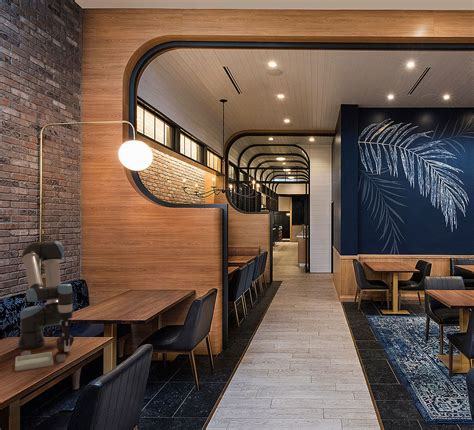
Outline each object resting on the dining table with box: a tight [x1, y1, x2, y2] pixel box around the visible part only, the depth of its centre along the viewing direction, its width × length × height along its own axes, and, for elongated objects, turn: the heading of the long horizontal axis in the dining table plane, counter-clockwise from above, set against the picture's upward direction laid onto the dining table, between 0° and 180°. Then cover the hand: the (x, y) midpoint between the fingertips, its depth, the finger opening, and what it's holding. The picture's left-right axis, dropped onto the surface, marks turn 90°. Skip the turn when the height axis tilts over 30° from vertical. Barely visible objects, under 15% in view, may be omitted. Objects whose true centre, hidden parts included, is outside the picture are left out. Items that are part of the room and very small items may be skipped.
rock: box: [56, 334, 75, 352], centre depth 239 cm, size 12×9×10 cm
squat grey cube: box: [55, 353, 67, 363], centre depth 224 cm, size 4×4×3 cm
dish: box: [14, 351, 54, 372], centre depth 220 cm, size 18×18×2 cm
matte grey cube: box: [20, 350, 32, 356], centre depth 231 cm, size 4×4×3 cm
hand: (65, 348), depth 238 cm, fingers open, 14 cm apart
